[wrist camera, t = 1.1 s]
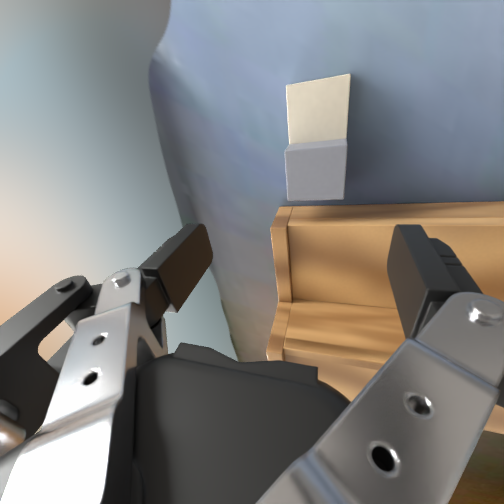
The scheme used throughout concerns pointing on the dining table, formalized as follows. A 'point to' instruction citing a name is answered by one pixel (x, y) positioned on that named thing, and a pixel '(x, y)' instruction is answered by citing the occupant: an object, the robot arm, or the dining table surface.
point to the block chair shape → (317, 138)
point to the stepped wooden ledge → (365, 282)
